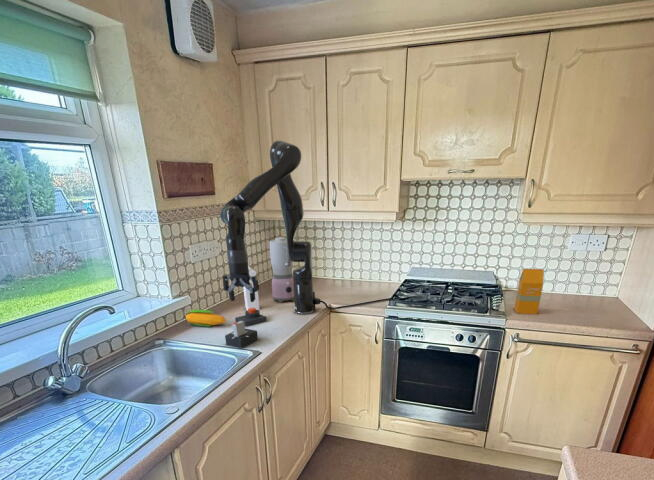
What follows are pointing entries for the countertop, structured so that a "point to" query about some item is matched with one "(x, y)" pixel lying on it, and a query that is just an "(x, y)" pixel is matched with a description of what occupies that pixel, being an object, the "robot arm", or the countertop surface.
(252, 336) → the fryer panel
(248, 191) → the robot arm
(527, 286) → the orange juice
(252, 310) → the power button
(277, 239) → the blender
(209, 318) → the corn
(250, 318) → the button block
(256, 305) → the milk
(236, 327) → the timer knob
